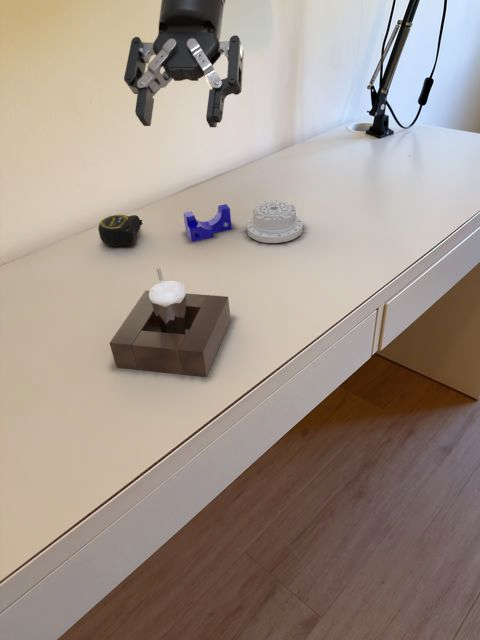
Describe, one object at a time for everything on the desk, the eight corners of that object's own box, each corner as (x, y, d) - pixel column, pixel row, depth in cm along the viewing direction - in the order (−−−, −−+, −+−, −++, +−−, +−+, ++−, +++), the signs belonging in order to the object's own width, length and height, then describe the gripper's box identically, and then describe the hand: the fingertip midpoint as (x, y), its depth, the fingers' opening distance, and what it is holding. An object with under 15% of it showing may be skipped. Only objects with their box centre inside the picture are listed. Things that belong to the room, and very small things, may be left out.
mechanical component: (251, 247, 90) (308, 241, 91) (249, 224, 87) (308, 217, 88) (243, 222, 98) (296, 216, 98) (242, 200, 95) (296, 193, 96)
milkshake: (186, 326, 73) (175, 263, 67) (198, 348, 69) (188, 283, 63) (154, 335, 72) (140, 272, 65) (165, 358, 68) (151, 293, 62)
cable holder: (191, 241, 93) (188, 220, 90) (186, 233, 95) (183, 212, 93) (234, 232, 95) (232, 211, 92) (228, 224, 97) (226, 204, 95)
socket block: (116, 367, 67) (109, 342, 64) (150, 313, 76) (145, 290, 73) (206, 377, 65) (202, 352, 62) (230, 320, 74) (228, 296, 71)
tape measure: (135, 250, 91) (130, 230, 89) (96, 250, 92) (91, 230, 89) (144, 231, 96) (140, 212, 94) (108, 232, 97) (103, 213, 95)
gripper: (127, -24, 63) (108, 105, 61) (243, -29, 60) (226, 106, 59) (151, 21, 70) (135, 138, 69) (255, 19, 67) (241, 140, 66)
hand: (177, 123), depth 64 cm, fingers open, 8 cm apart
